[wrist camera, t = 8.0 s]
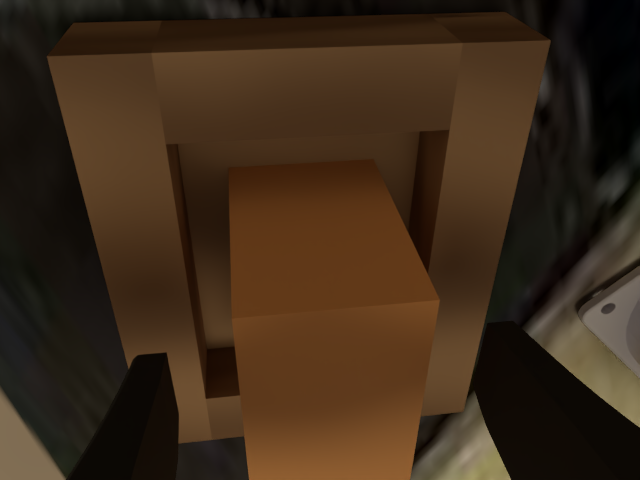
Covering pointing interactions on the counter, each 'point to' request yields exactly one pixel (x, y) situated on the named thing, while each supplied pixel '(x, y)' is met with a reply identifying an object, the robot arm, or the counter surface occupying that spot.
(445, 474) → the counter surface
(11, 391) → the counter surface
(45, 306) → the counter surface
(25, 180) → the counter surface
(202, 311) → the well
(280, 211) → the tall wooden block
